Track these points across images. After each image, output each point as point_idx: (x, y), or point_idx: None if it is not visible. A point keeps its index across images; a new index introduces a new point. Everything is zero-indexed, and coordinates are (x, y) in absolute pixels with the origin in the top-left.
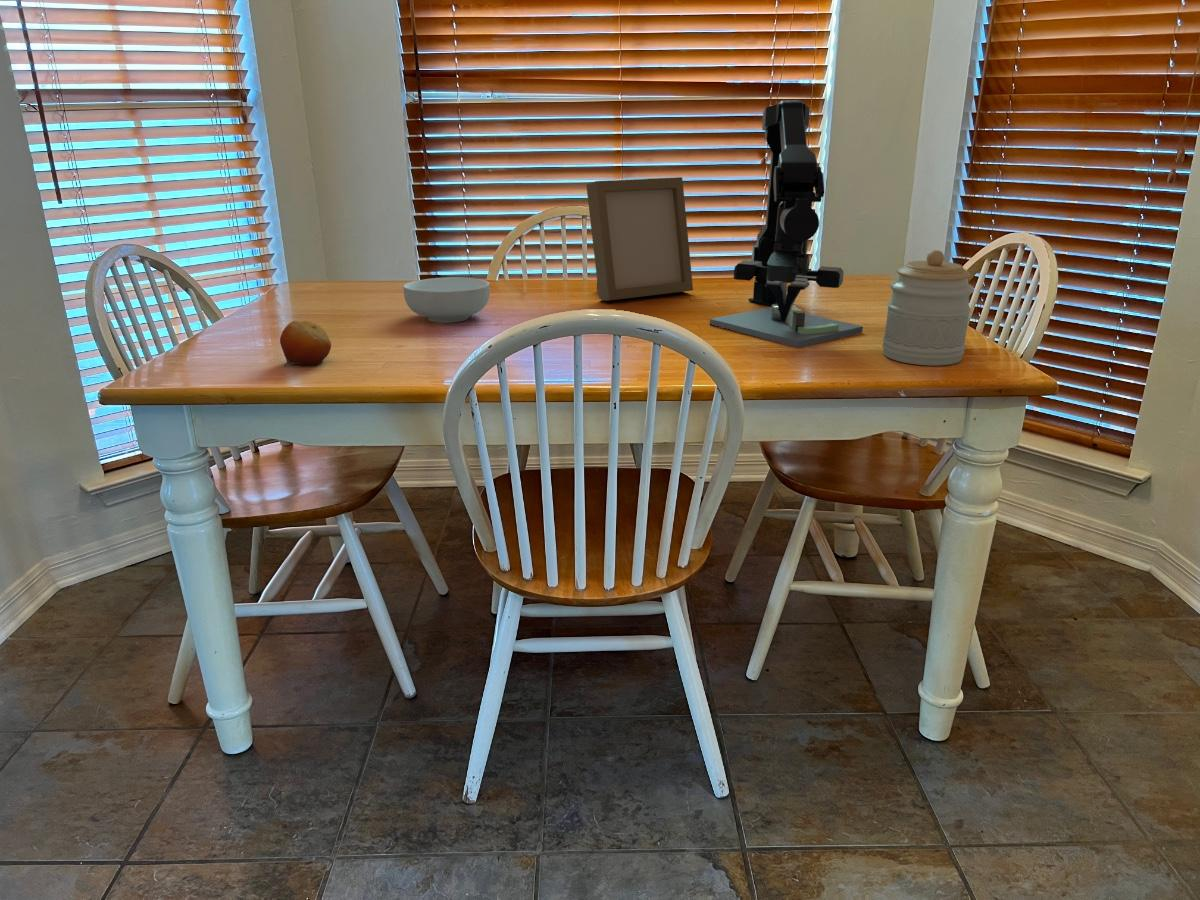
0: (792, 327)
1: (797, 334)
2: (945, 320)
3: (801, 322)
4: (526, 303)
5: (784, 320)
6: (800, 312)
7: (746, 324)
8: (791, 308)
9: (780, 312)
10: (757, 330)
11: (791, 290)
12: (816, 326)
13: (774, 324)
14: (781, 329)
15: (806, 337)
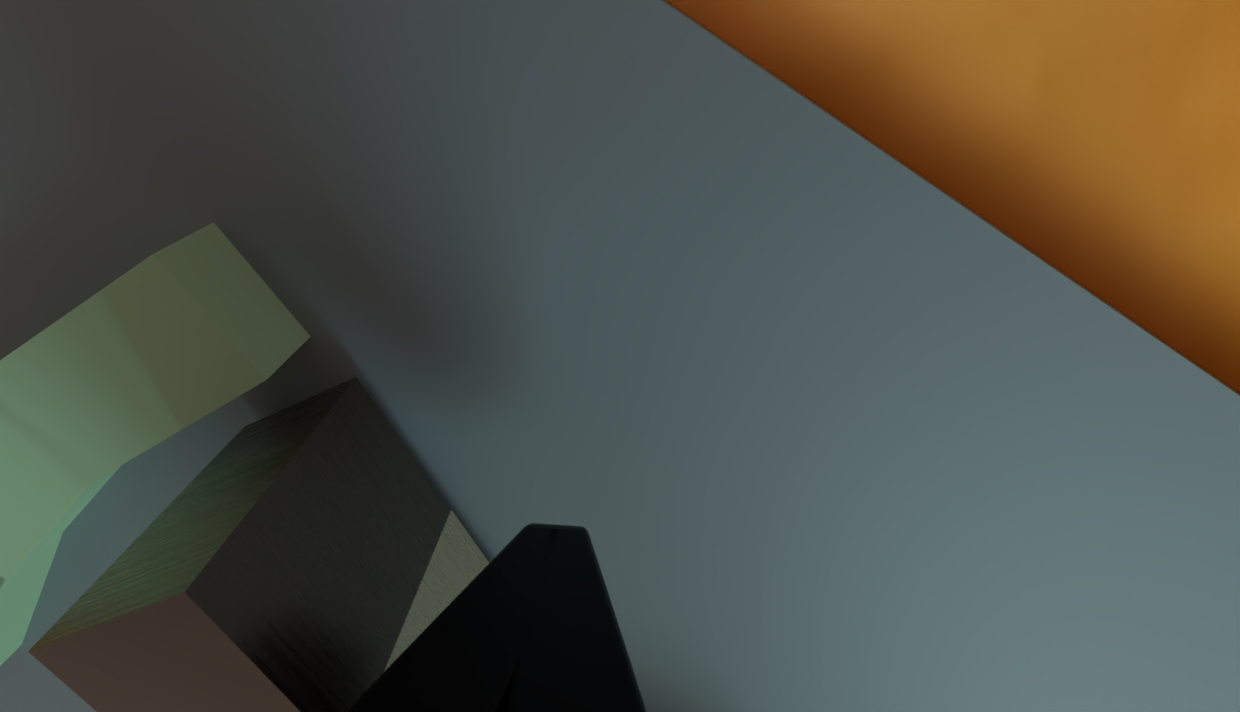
0: (433, 498)
1: (256, 192)
2: None
3: (206, 485)
4: None
5: (530, 526)
6: (138, 663)
7: (1158, 566)
8: None
9: (602, 640)
10: (987, 251)
11: None
12: (29, 493)
13: (739, 653)
14: (592, 431)
15: (17, 7)
